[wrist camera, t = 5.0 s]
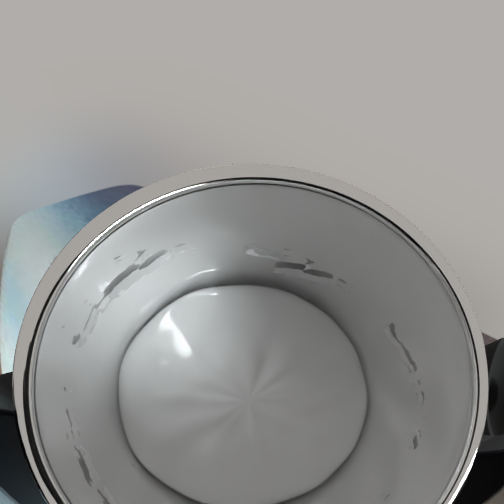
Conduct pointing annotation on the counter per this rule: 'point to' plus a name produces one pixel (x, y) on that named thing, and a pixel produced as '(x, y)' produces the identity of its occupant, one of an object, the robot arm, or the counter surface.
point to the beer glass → (250, 351)
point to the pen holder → (495, 389)
